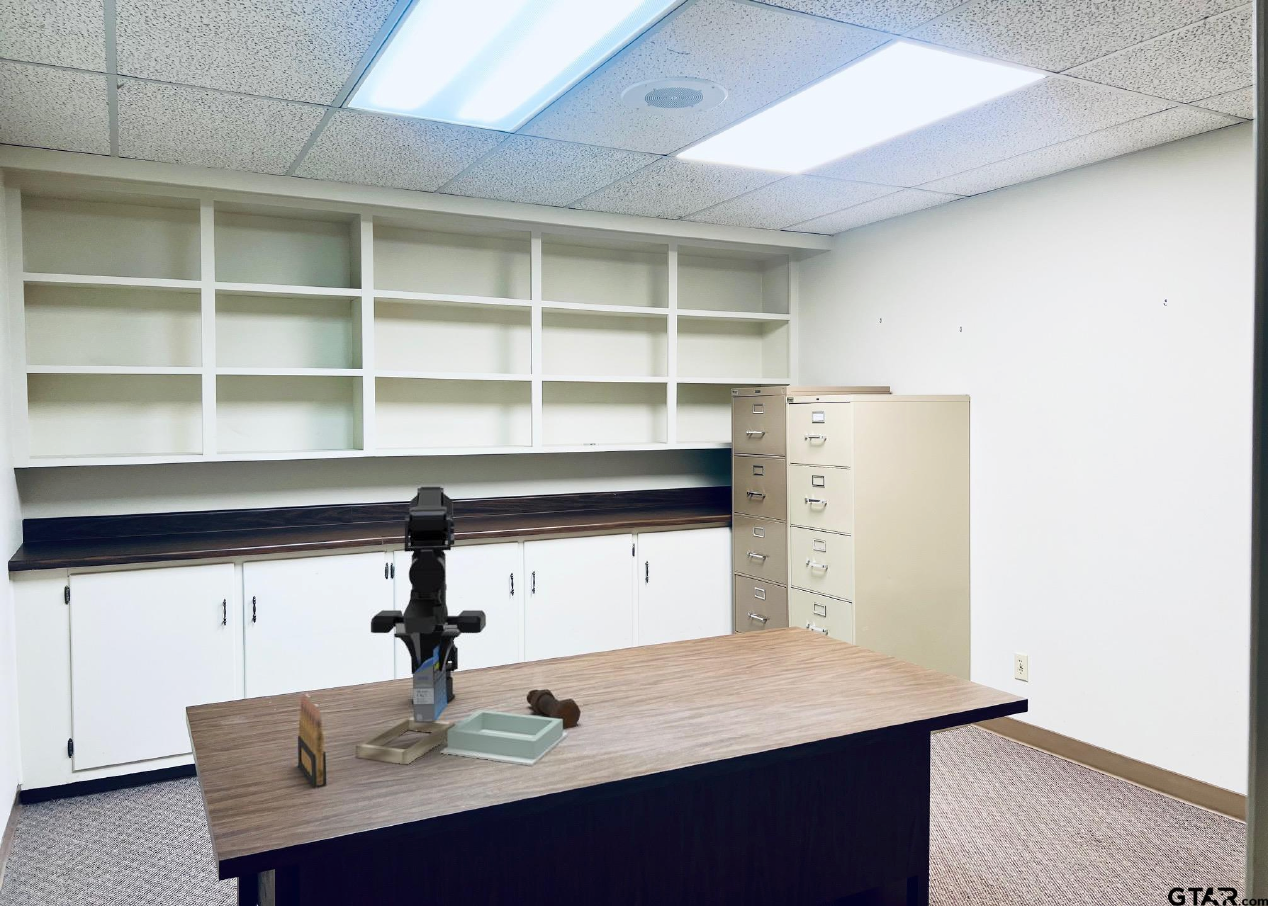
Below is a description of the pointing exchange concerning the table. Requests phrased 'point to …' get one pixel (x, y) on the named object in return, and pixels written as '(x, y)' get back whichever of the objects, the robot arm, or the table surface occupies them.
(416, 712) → the label tape cartridge
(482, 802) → the table surface
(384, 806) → the table surface
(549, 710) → the bolt
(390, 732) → the beige open rectangular frame
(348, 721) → the table surface
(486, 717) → the slot plate
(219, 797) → the table surface
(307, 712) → the ammunition clip
